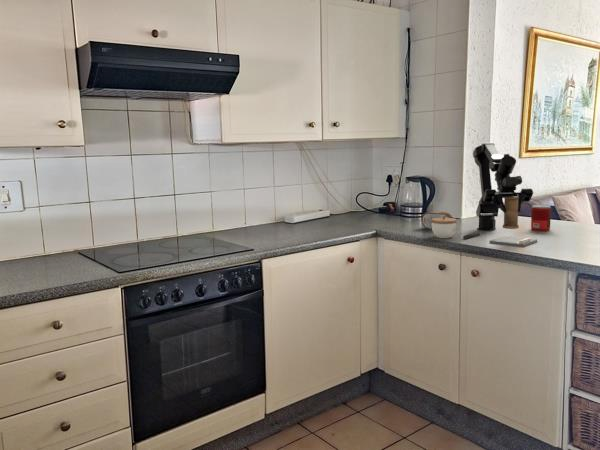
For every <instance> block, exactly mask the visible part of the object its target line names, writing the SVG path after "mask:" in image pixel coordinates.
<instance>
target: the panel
mask: <svg viewBox="0 0 600 450" xmlns="http://www.w3.org/2000/svg"><path fill="white" fill-rule="evenodd" d="M525 238H526V237H516V236H507V235H503V236H499V237H496V238H493V239H490V240H489V244H496V245H503V246H513V247H522V248H525V247H527V246H530V245H533V244H535V243H538V239H535V238H531V241H529V242H527V243H524V244H520V243H519V240H522V239H525Z"/></svg>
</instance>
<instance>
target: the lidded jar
mask: <svg viewBox="0 0 600 450" xmlns="http://www.w3.org/2000/svg"><path fill="white" fill-rule="evenodd" d="M431 222H432V229H431V230H432V233H433V234H434V235H435V236H436V238H438V237H439V238H440V239H450V238H452V236H453V235H454V234H455V233H456V229H457V219H456V218H453V217H452V218H445V216H443V218H434V219H431ZM449 237H450V238H449Z"/></svg>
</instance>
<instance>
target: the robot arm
mask: <svg viewBox="0 0 600 450" xmlns="http://www.w3.org/2000/svg"><path fill="white" fill-rule="evenodd" d="M472 157H473V159H474V162H475V164H476V165H477V166H478V170H479V180H480V191H481V197H480V199H479V201H478V205H477V208H476V211H475V214H476V215H475V216H477V217H478V227H476V229H477V230H481V231H494V230H496V229H497V227H496V219H495V217H498V215H499V210H500V211H502V212H503V214H504V213H505V212H506V209H505V206H504V200H503V199H504V197H505V196H517V197H519V199H518V213H521V208H522V207H521V206H522V204H523V203H527V202H531V199H532V197H533V195H534V190H533V189H532V188H521V190H520V191H519V192H517V191H516V190H517V186H519V185H521V184H522V183H523V177H522V176H521V175H516V176H511V174H512V173H513V171H514V168H515V167H516V165H517V164H516V163H517V159H516V158H515V157H514V156H511V155H510V153H504V154H503V155H501V154H500V153H499V151H498V150H497V148H496V146H495V143H494V142H484V143H481V145H478V146H476V147H475V148H474V150H473V152H472ZM491 172H492V173H493V172H495V173H494V181H495V182H496V185H497V188H496V189H497V190H496V189H493V188H492V178H491Z"/></svg>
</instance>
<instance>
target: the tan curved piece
mask: <svg viewBox="0 0 600 450" xmlns="http://www.w3.org/2000/svg"><path fill="white" fill-rule="evenodd" d="M443 216H445V218H453V216H452V215H451V214H450V213H449V212H446V211H432V210H431V211H427V212H424V213H423V215H422V217H421V224H422V226H423V227H424V228H426V229H428V228H431V229H430V230H432V222H431V219H434V218H443Z"/></svg>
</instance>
